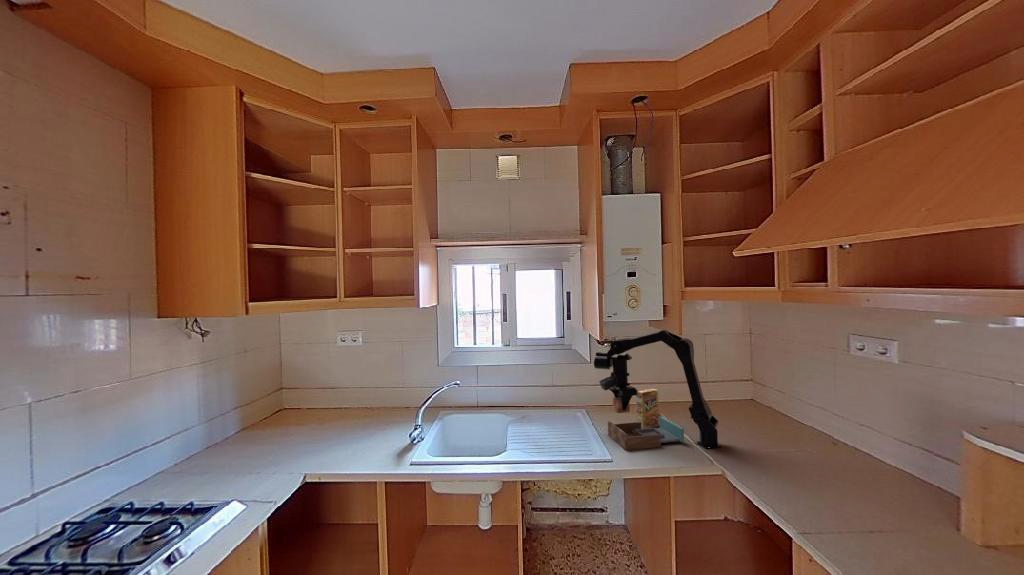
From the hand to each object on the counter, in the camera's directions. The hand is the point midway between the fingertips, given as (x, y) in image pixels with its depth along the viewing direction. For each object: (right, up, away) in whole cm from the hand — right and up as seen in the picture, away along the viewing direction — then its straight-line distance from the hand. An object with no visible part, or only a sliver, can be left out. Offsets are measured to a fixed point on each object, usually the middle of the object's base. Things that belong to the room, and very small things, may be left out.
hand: (621, 408), depth 189 cm
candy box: (+13, -9, +6) cm, 17 cm away
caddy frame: (+2, -10, -11) cm, 15 cm away
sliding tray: (+11, -8, -9) cm, 17 cm away
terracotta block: (0, -1, 0) cm, 1 cm away
